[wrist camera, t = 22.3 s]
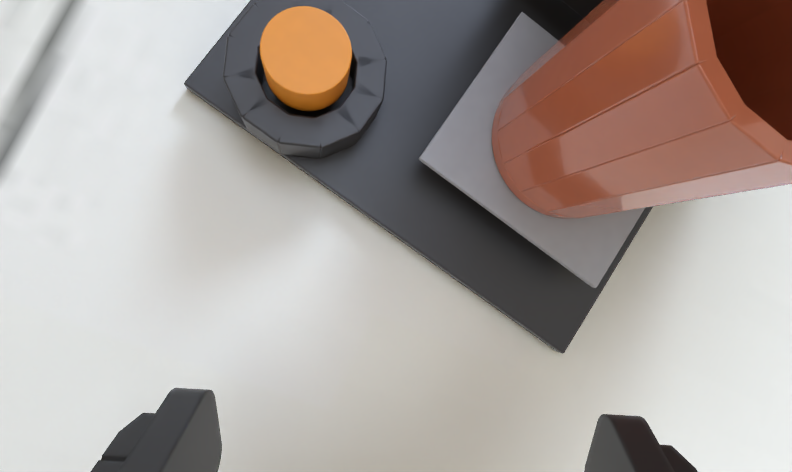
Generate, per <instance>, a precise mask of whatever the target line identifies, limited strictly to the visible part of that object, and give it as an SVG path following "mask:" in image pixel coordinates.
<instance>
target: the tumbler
mask: <svg viewBox="0 0 792 472" xmlns="http://www.w3.org/2000/svg"><path fill="white" fill-rule="evenodd" d="M492 148H493V154H494V158H495V162H496V165H497V167H498V170H499V172H500V174H501V176H502V178H503V180H504V182H505V183H506V184H507V186H508V187H509V189H510V190H511V191H512V192H513V193H514V194H515V196H516V197H517V198H519V199H520V200H521V201H522V202H523V203H524V204H526V205H527V206H529V207H530V208H532V209H533V210H535V211H538V212H540V213H542V214H544V215H548V216H551V217H555V218H561V219H575V218H577V219H578V218H584V217H590V216H597V215H603V214H609V213H615V212H621V211H627V210H633V209H640V208H646V207H652V206H658V205H664V204H670V203H676V202H683V201H689V200H695V199H701V198H707V197H713V196H720V195H726V194H732V193H738V192H744V191H750V190H756V189H763V188H769V187H775V186H781V185H787V184H792V0H603V1H602V2H601V3H600V4H599V5H598V6H597V7H595V8H594V9H593V10H592V11H591V12H590V13H589V14H588V15H587V16H586V17H584V18H583V19H582V20H581V21H580V22H579V23H578V24H577V25H576V26H574V27H573V28H572V29H571V30H570V31H569V32H568V33H567V34H566V35H564V36H563V37H562V38H561V39H560V40H559V41H558V42H557V43H556V44H554V45H553V46H552V47H551V48H550V49H549V50H548V51H547V52H546V53H544V54H543V55H542V56H541V57H540V58H539V59H538V60H537V61H536V62H535V63H533V64H532V65H531V66H530V67H529V68H528V69H527V70H526V71H525V72H523V73H522V74H521V75H520V77H519V78H518V79H517V81H516V82H515V83H513V84H512V85H511V86H510V88H509V89H508V90H507V91H506V93H505V94H504V96H503V97H502V99H501V101H500V103H499V105H498V107H497V110H496V113H495V116H494V120H493V127H492Z"/></svg>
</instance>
